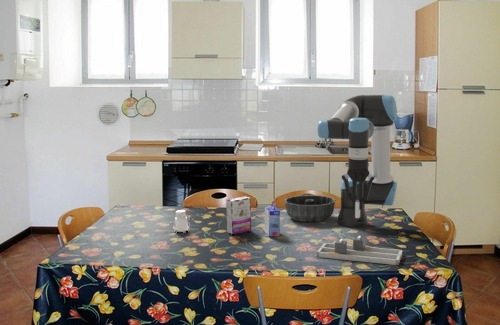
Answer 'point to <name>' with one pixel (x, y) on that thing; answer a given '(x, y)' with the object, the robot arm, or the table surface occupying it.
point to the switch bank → (362, 254)
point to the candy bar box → (238, 215)
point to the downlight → (181, 221)
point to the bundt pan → (310, 207)
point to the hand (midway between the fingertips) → (357, 217)
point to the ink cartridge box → (272, 221)
